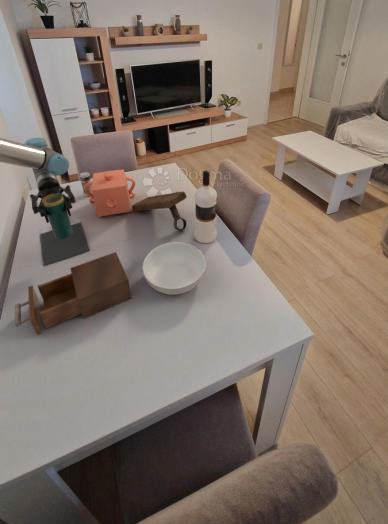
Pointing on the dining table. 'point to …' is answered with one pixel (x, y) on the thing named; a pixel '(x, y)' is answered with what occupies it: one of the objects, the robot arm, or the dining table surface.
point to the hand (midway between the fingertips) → (58, 215)
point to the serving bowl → (174, 267)
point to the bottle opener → (163, 205)
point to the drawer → (50, 303)
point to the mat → (63, 245)
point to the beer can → (84, 180)
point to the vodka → (205, 211)
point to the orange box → (110, 192)
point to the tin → (58, 215)
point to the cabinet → (100, 284)
